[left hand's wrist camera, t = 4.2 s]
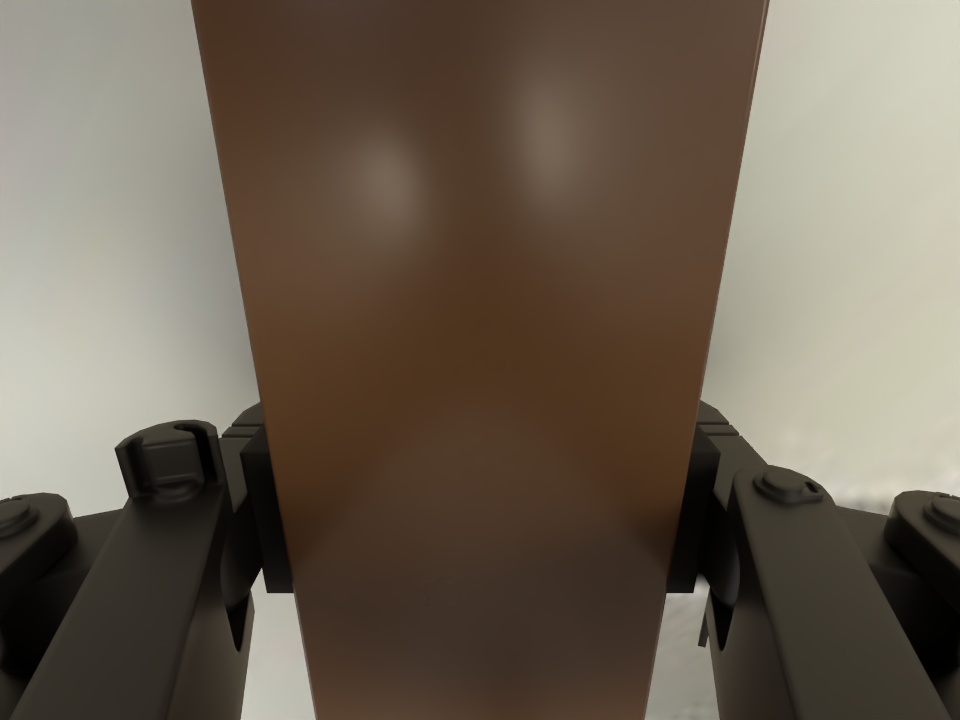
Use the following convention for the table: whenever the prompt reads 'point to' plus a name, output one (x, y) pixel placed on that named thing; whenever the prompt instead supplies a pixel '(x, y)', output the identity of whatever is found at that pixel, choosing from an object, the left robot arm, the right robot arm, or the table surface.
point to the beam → (480, 326)
